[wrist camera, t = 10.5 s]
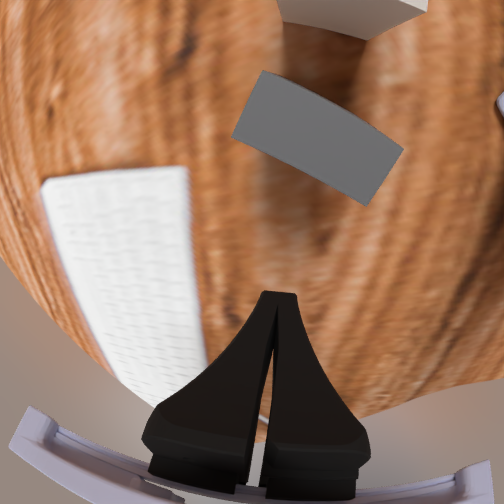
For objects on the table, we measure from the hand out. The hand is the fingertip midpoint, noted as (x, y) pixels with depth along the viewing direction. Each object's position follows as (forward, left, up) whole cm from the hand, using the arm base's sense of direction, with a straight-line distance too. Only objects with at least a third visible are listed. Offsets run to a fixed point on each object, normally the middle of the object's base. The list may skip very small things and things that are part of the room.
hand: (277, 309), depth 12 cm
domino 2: (+3, -6, -9) cm, 12 cm away
